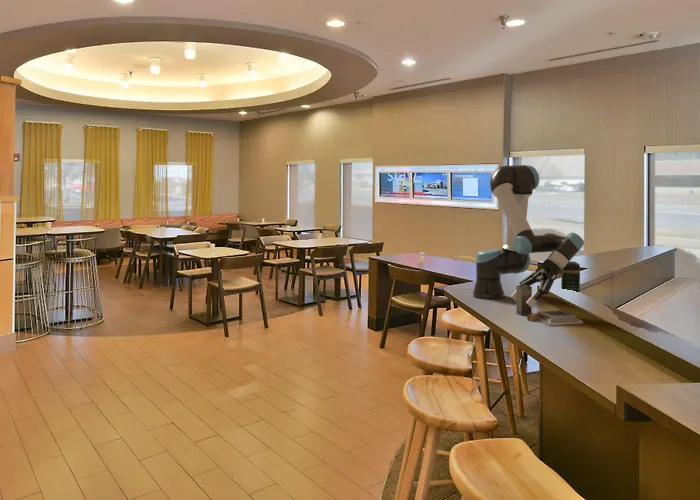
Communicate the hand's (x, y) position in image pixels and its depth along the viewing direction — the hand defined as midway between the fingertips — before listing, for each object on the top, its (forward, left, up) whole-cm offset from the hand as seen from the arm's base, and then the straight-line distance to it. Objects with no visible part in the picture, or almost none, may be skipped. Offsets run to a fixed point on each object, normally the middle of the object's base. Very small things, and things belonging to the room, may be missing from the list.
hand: (520, 301), depth 213 cm
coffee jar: (-5, +39, -6) cm, 39 cm away
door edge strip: (+9, +3, -5) cm, 11 cm away
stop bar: (0, +2, -6) cm, 6 cm away
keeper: (+15, +3, -5) cm, 17 cm away
